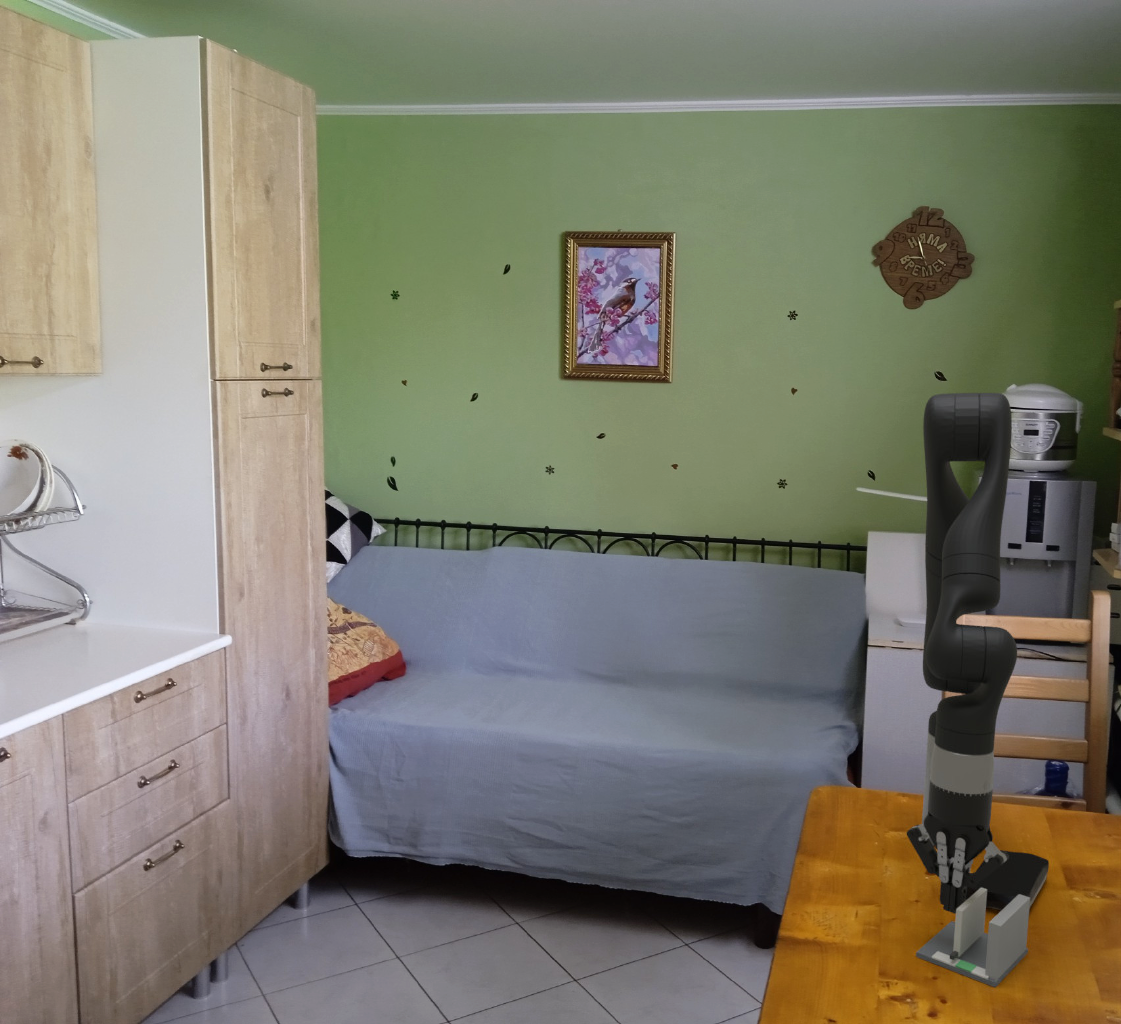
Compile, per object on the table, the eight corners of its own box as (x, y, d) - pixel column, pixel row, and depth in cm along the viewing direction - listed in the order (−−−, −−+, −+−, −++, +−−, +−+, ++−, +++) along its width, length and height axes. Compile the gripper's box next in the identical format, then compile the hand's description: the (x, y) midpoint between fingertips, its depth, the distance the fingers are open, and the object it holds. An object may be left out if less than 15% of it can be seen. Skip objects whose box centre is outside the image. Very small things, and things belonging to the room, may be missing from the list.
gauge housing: (951, 924, 147) (955, 871, 146) (1027, 952, 141) (1032, 896, 140) (915, 956, 139) (919, 899, 138) (995, 987, 133) (1000, 927, 132)
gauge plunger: (977, 930, 143) (981, 887, 143) (983, 932, 143) (987, 889, 142) (948, 958, 136) (951, 912, 136) (954, 960, 136) (957, 915, 135)
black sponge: (1024, 925, 148) (1026, 899, 148) (960, 906, 153) (962, 881, 153) (1050, 881, 161) (1052, 857, 161) (990, 865, 166) (992, 842, 166)
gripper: (1025, 786, 137) (1014, 917, 139) (924, 759, 146) (915, 883, 148) (1002, 803, 132) (991, 939, 134) (898, 773, 140) (890, 902, 143)
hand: (951, 909), depth 141 cm, fingers closed
